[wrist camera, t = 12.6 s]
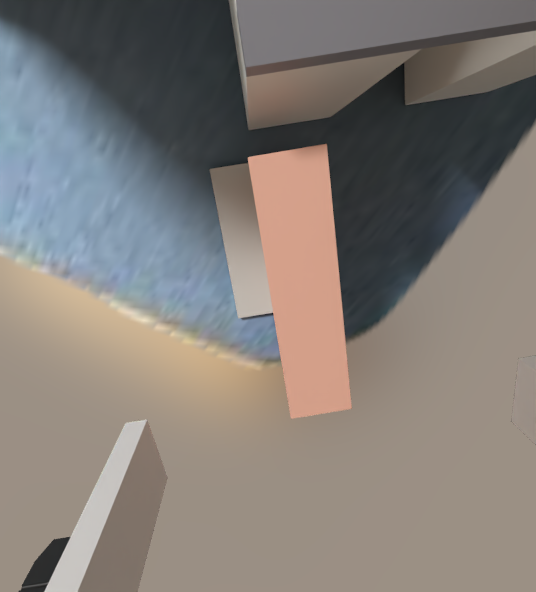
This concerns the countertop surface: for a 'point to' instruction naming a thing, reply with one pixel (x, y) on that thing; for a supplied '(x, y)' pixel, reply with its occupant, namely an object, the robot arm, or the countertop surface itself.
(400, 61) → the dispenser
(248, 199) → the mat
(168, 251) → the countertop surface
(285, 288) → the salmon pink slab
